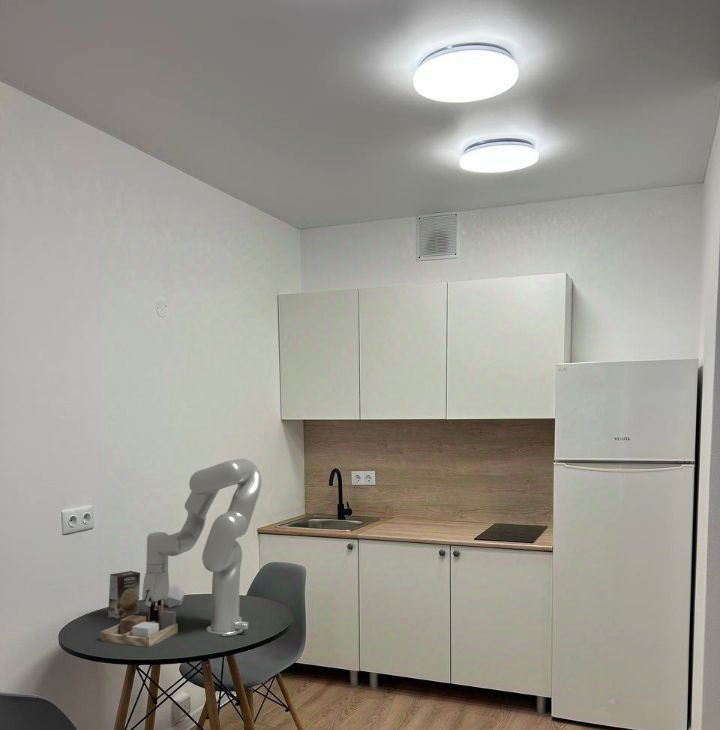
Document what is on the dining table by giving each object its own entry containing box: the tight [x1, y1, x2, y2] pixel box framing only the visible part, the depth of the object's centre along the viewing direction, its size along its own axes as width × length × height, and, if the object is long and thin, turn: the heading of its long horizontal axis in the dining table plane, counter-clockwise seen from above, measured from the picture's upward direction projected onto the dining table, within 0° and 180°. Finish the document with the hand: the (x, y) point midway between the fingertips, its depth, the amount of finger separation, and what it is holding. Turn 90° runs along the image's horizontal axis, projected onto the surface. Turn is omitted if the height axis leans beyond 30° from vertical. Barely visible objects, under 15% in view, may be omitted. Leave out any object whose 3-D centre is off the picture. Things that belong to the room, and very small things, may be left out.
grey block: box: [132, 610, 177, 638], centre depth 234 cm, size 6×17×6 cm, turn 161°
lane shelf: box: [100, 621, 179, 648], centre depth 236 cm, size 19×23×4 cm
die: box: [164, 583, 186, 609], centre depth 276 cm, size 8×9×10 cm
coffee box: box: [107, 570, 141, 619], centre depth 260 cm, size 9×6×16 cm
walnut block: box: [119, 605, 164, 635], centre depth 242 cm, size 6×17×6 cm, turn 161°
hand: (155, 619), depth 249 cm, fingers closed on walnut block
